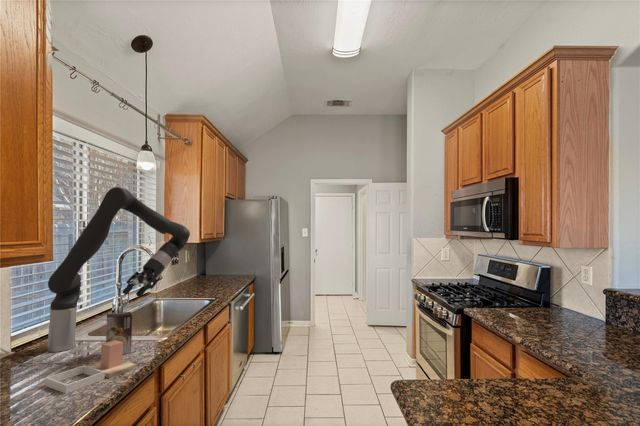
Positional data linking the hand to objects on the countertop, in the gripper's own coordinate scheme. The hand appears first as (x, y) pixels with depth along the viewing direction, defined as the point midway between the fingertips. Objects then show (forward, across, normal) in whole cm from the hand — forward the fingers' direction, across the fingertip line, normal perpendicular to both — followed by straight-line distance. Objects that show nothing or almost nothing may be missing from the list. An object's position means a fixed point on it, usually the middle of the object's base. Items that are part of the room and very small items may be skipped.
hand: (130, 294), depth 135 cm
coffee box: (+16, -11, +20) cm, 28 cm away
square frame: (+33, +3, +4) cm, 33 cm away
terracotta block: (+23, +3, +11) cm, 26 cm away
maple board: (+24, +3, +12) cm, 27 cm away
